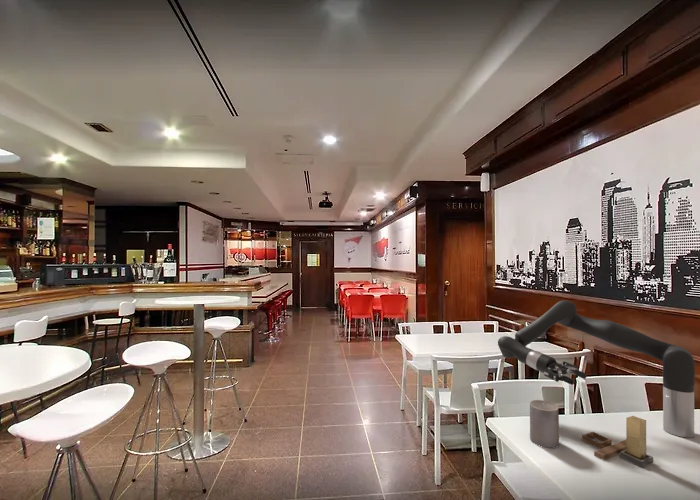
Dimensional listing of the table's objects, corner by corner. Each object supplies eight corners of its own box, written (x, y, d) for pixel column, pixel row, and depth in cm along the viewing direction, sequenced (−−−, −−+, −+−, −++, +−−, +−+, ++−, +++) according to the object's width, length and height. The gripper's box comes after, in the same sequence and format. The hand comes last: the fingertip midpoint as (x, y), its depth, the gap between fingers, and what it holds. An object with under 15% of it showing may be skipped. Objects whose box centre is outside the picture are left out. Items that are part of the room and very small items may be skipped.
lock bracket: (603, 433, 145) (603, 428, 145) (663, 458, 127) (663, 452, 127) (570, 444, 136) (570, 439, 136) (630, 473, 118) (630, 466, 118)
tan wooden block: (633, 456, 128) (632, 415, 129) (646, 461, 125) (646, 420, 125) (626, 458, 127) (626, 417, 127) (639, 464, 123) (639, 422, 123)
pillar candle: (537, 432, 145) (537, 394, 145) (564, 443, 137) (563, 402, 137) (524, 440, 139) (524, 400, 139) (551, 451, 131) (551, 409, 131)
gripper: (531, 358, 153) (570, 375, 140) (551, 349, 160) (591, 365, 146) (529, 374, 155) (568, 393, 141) (550, 365, 162) (588, 383, 148)
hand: (579, 379), depth 144 cm, fingers open, 8 cm apart
